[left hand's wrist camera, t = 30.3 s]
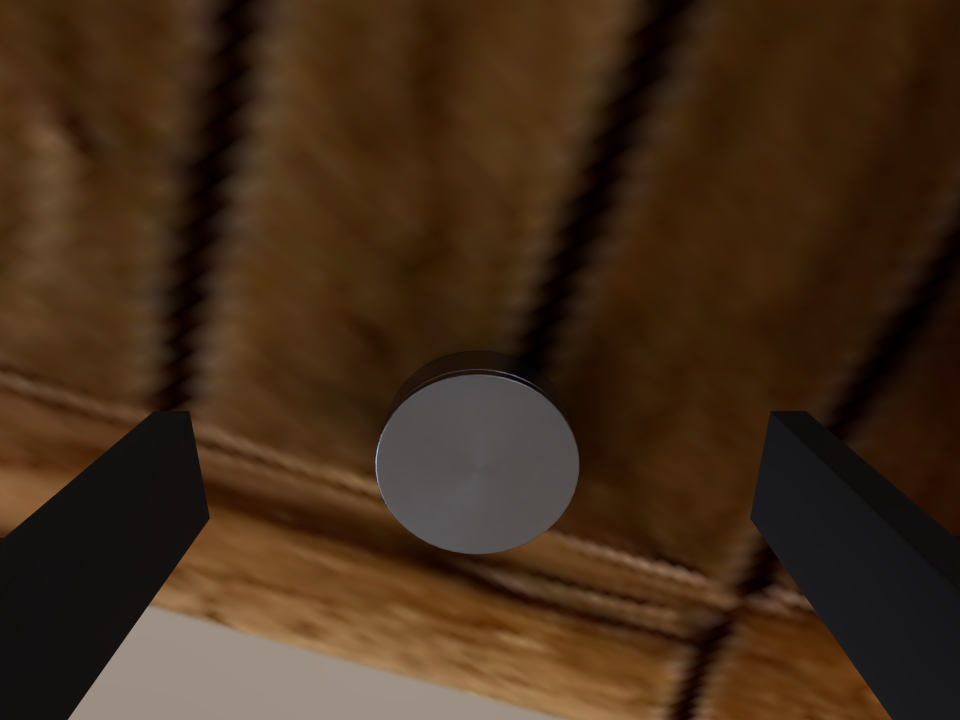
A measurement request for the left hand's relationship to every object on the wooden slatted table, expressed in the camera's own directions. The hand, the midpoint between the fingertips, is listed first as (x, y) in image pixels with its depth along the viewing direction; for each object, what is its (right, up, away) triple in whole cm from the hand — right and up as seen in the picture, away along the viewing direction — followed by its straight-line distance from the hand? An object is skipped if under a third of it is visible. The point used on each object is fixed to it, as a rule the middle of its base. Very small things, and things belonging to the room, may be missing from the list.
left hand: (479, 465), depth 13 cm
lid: (0, 0, +2) cm, 2 cm away
